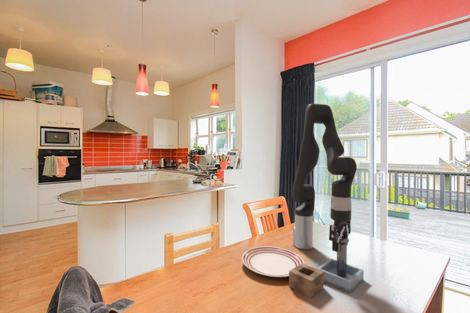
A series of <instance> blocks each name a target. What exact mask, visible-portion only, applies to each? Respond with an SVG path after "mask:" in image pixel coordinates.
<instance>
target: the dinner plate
mask: <svg viewBox="0 0 470 313" xmlns="http://www.w3.org/2000/svg"><path fill="white" fill-rule="evenodd" d="M241 261H242V264H243V265H244V266H245V267H246V268H247V269H249V270H251V271H252V272H254V273H256V274H259V275H263V276H265V277H266V276H267V277H272V278H287V277H288V278H289V271H290V270H292V269H293V268H295V267H297V266H298V265H300V264H302V263H303V264H305V265H306V263H305V261H304V259H303V258H302V257H301V256H300V255H299V254H297V253H295V252H294V251H291V250H289V249H286V248H283V247H279V246H270V245H267V246H266V245H265V246H263V245H261V246H256V247H252V248H250V249H248V250H246V251H244V253H243V254H242V256H241Z"/></svg>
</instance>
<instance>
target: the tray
mask: <svg viewBox="0 0 470 313" xmlns="http://www.w3.org/2000/svg"><path fill="white" fill-rule="evenodd" d="M316 269H318V270H320V271H323V272H324V283H326V284H327V285H330V286H333V287H334V288H338V289H340V290H342V291H344V292H346V293H349V294H351V293H352V292H353V291H354V290H356V288H357V287H358V286H359V285H360V284H361V283H362V281H364V269H362V268H359V267H356V266H354V265H351V264H348V263H347V276H346V277H345V278H343V277H340V276H337V259H333V258H330V259H329V260H327V261H326V262H324V263H322V264H321V265H319V266H318V267H316Z"/></svg>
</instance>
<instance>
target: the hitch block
mask: <svg viewBox="0 0 470 313" xmlns="http://www.w3.org/2000/svg"><path fill="white" fill-rule="evenodd" d="M324 283H325V282H324V272H323V271H320V270H318V269H317V268H315V267H313V266H310V265H308V264H306V263H305V264H303V263H302V264H300V265H298V266H297V267H295V268H293V269H292V270H290V271H289V276H288V284H289V285H288V287H289V288H291V289H293V290H294V291H296V292H299V293H301V294H302V295H305V296H306V297H309V299H311V298H313V297H315V295H316V294H318V293H319V292H321V290H323V289H324V285H325V284H324Z"/></svg>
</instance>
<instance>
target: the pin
mask: <svg viewBox="0 0 470 313" xmlns="http://www.w3.org/2000/svg"><path fill="white" fill-rule="evenodd" d="M349 239H350V238H349V237H348V238H347V237H344V236H342V237H340V239H339V251H338V252H336V260H337V276H340V277H343V278H345V277H346V276H347V264H348V263H347V261H348V260H347V258H348V256H347V251H348V250H347V249H348V245H347V243H348V244H349V241H350V240H349Z"/></svg>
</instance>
